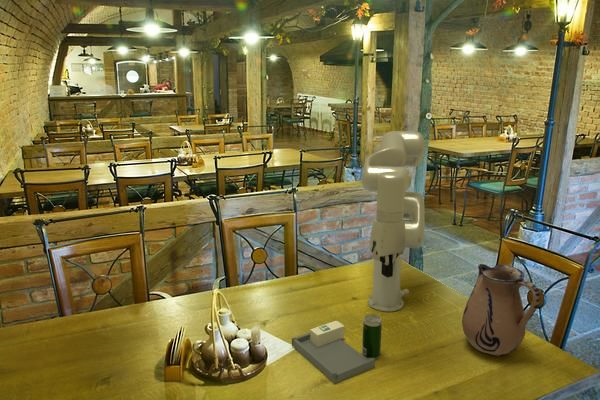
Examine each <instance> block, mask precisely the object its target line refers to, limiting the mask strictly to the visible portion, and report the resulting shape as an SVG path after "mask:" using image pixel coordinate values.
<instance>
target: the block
mask: <svg viewBox="0 0 600 400" xmlns="http://www.w3.org/2000/svg"><path fill="white" fill-rule="evenodd" d="M309 333H310V341H311V342H312V343H313V344H314V345H315V346H317V347H319V346H322V345H325V344H328V343H330V342H333V341H336V340H339V339H341V340H342V339H344V338H345V325H344V324H343V323H341V322H339V321H338V320H334V321H330V322H327V323H326V324H322V325H319V326H316V327H314V328H311V329H309Z"/></svg>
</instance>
